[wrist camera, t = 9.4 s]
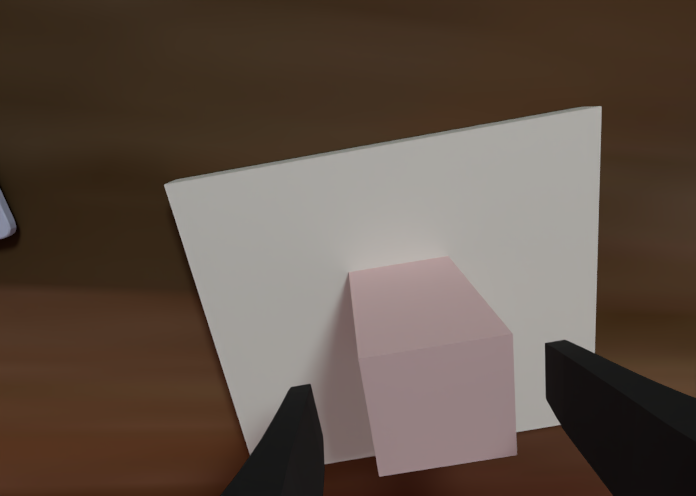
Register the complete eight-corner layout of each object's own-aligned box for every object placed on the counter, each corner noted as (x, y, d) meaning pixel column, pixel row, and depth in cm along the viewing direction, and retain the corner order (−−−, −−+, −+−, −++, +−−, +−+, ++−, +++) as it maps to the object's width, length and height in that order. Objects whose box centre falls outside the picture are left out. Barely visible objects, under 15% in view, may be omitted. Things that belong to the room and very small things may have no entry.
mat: (260, 455, 20) (256, 475, 19) (175, 179, 16) (163, 184, 15) (577, 401, 20) (592, 419, 19) (581, 106, 16) (601, 106, 14)
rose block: (363, 357, 17) (379, 476, 12) (348, 272, 16) (358, 358, 10) (455, 342, 17) (517, 454, 12) (448, 255, 16) (512, 333, 10)
